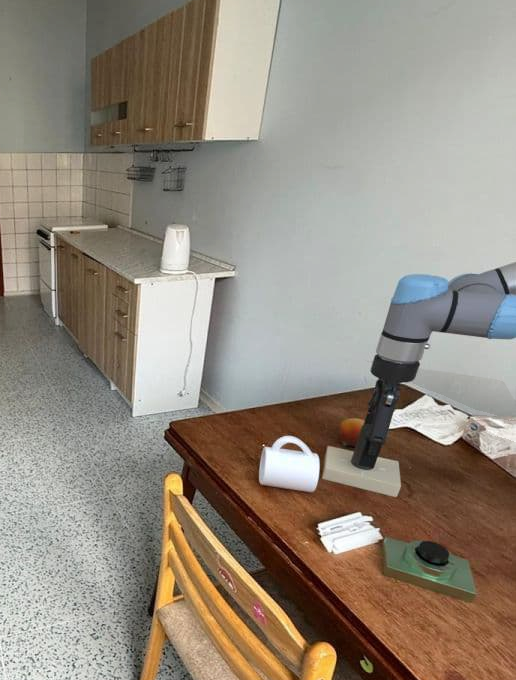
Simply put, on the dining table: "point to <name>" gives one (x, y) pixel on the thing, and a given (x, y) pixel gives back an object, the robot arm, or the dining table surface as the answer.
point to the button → (433, 553)
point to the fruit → (350, 431)
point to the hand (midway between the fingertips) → (366, 452)
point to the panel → (362, 472)
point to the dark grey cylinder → (361, 447)
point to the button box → (427, 570)
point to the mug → (289, 466)
